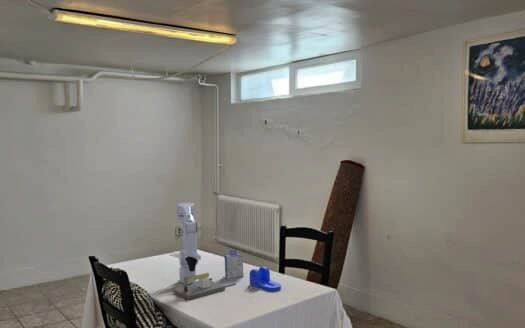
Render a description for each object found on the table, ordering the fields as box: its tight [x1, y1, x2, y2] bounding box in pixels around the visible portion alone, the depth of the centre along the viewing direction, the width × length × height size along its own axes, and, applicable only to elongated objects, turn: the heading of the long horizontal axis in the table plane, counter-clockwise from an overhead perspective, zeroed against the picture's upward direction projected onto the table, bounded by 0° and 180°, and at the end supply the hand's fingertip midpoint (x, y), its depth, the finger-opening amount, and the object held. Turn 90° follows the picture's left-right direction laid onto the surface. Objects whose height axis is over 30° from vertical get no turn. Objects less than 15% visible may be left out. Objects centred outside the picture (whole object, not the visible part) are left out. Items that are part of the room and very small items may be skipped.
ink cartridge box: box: [223, 249, 244, 279], centre depth 268 cm, size 10×6×14 cm, turn 112°
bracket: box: [249, 265, 282, 292], centre depth 249 cm, size 18×8×9 cm, turn 41°
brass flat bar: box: [183, 272, 210, 291], centre depth 242 cm, size 2×14×6 cm, turn 131°
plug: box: [198, 277, 213, 289], centre depth 246 cm, size 5×7×6 cm
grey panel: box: [173, 280, 226, 301], centre depth 243 cm, size 14×22×2 cm, turn 130°
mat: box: [214, 279, 236, 288], centre depth 254 cm, size 9×9×1 cm
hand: (192, 271), depth 246 cm, fingers closed
